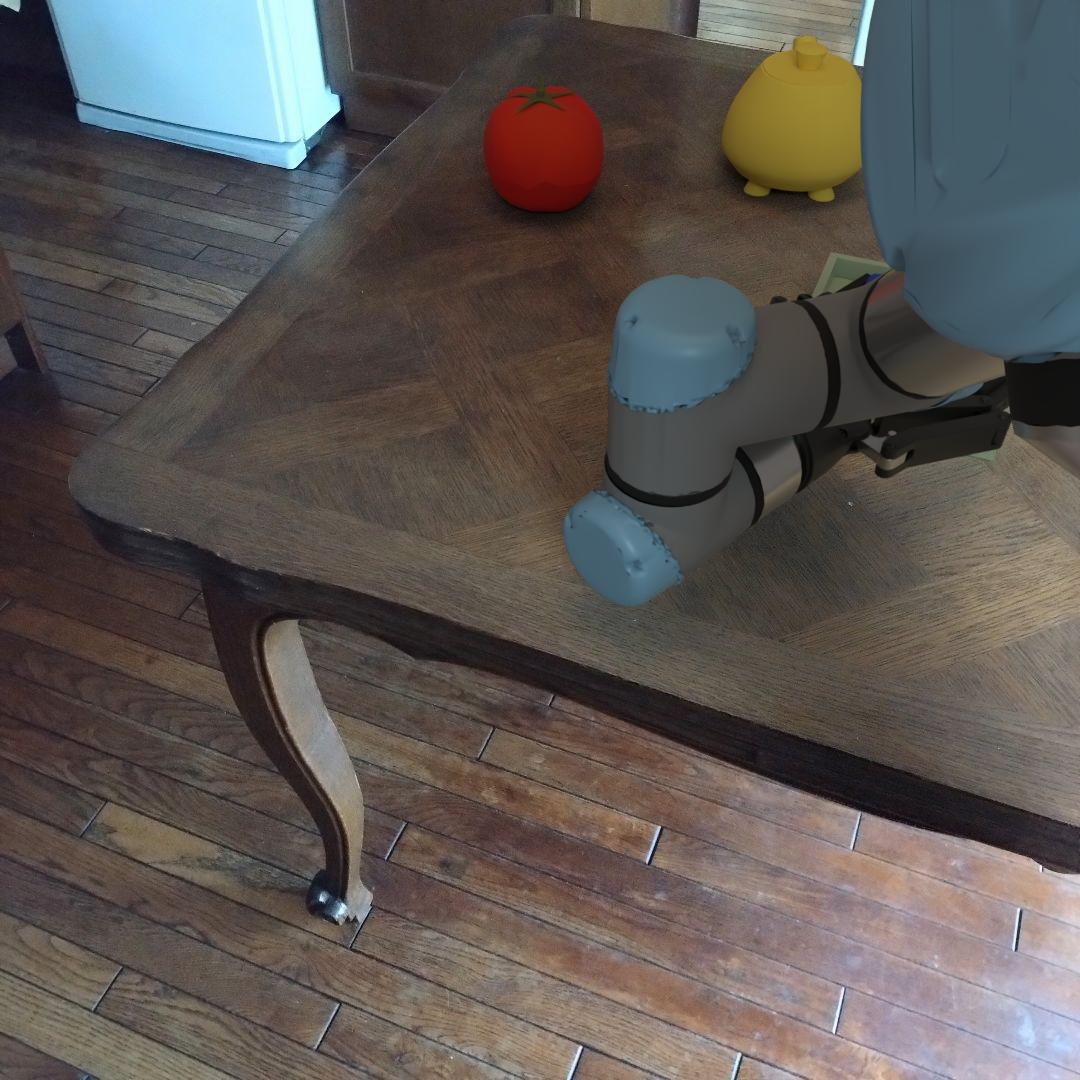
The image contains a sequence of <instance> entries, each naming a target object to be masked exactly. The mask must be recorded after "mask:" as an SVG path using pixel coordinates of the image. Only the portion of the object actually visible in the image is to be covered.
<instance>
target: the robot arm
mask: <svg viewBox="0 0 1080 1080" xmlns="http://www.w3.org/2000/svg"><path fill="white" fill-rule="evenodd" d="M863 57H864V58H863V66H862V77H861V82H862V88H861V110H860V142H861V161H862V168H861V172H862V180H863V187H864V194H865V198H866V203H867V204H866V205H867V209H868V214H869V219H870V223H871V228H872V231H873V235H874V237H875V240H876V243H877V246H878V248H879V250H880V253H881V256H882V258H883V262H884V263H887V264H888V265H889V267H890V268H892V269H891V270H889V271H888V272H886V273H884V274H882V275H881V276H879V277H877V278H875V279H874V280H872V281H870V282H869V283H867V284H866V281H867V279H868V278H869V277H870V276H871V275H870V274H868V273H866V274H864V275H863V276H861V277H859V278H858V279H856V280H854V281H853V282H851V283H850V284H848V285H846V286H845V287H843V288H841V289H840V290H838V291H837V292H835V293H831V292H824V293H822V294H820V295H819V296H817V297H814V298H813V297H812V294H809V293H800V294H798V295H797V297H796V300H788V299H787V298H786V297H785V296H782V295H775V296H772V298H771V300H770V302H769V304H765V305H759V306H753V304H752V302H751V301H750V299H749V298H748V297H747V295H745V294H744V293H743V292H742V291H741V290H739V289H738V288H737V287H735V286H734V285H732V284H730V283H728V282H726V281H724V280H721V279H719V278H715V277H712V276H708V275H707V276H706V275H703V276H701V277H698V278H693V277H689V276H686V275H685V274H682V273H676V274H669V275H663V276H660V277H656V278H653V279H651V280H650V279H649V280H648V281H646V282H644V283H642V284H640V285H638V286H637V287H636V288H635V289H633V290H632V291H631V292H629V294H627V296H626V297H625V299H624V300H623V301H622V302H621V304H620V306H619V308H618V311H617V313H616V316H615V321H614V328H613V331H612V336H611V345H610V346H611V347H610V355H609V360H608V363H607V374H606V381H607V387H608V388H607V425H606V429H607V430H606V449H605V450H606V451H605V453H604V457H603V470H602V481H601V484H600V485H599V486H598V487H596V488H593V489H590V490H588V491H587V492H586V493H584V494H583V497H582V498H580V499H579V500H578V501H577V502H575V503H574V504H573V505H572V506H571V507H570V508H569V509H568V511H567V513H566V515H565V516H564V519H563V523H562V537H563V543H564V546H565V551H566V553H567V556H568V557H569V560H570V561H571V564H572V565H573V567H574V569H575V570H576V572H577V573H578V575H579V576H580V577H581V579H582V580H583V581H584V582H585V584H586V585H588V587H589V588H590V589H591V590H594V591H595V592H596V593H597V594H598V595H600V597H601V598H602V599H604V600H606V601H607V602H610V603H611V604H614V605H617V606H620V607H626V608H633V607H639V606H642V605H644V604H646V603H647V602H649V601H651V600H652V599H654V598H656V597H657V596H658V595H660V594H661V593H663V592H664V591H666V590H667V589H669V588H670V587H672V586H678V585H680V584H681V583H683V581H684V579H685V578H687V577H688V576H689V575H690V574H692V573H693V572H694V571H696V570H697V569H699V568H700V567H701V566H703V565H704V564H705V563H706V562H707V561H709V560H710V559H712V557H714V556H715V555H717V554H718V553H720V552H721V551H722V550H723V549H725V548H726V547H728V546H729V545H730V544H731V543H733V542H734V541H735V540H736V539H738V538H740V537H741V536H742V535H743V534H744V533H745V532H746V531H747V530H749V529H750V528H751V527H753V526H754V525H756V524H758V523H759V522H760V521H762V520H763V519H764V518H766V517H768V515H770V514H771V513H773V512H774V511H775V510H777V509H778V508H779V507H781V506H782V505H783V504H785V503H786V502H787V501H789V500H791V499H792V498H793V497H794V495H796V494H799V493H800V492H802V491H803V490H804V489H806V488H807V487H809V486H810V485H811V484H813V483H815V482H816V481H817V480H818V479H820V478H821V477H822V476H824V475H825V474H826V473H828V472H829V471H830V470H831V469H832V468H833V467H834V466H836V465H837V463H838V462H839V461H840V460H841V459H842V458H844V457H846V456H848V455H849V456H850V455H856V454H859V453H861V454H862V455H864V456H865V457H866V458H868V459H869V460H871V461H873V462H874V463H875V468H874V474H875V476H876V477H878V478H881V479H890V478H892V477H894V476H895V475H897V474H899V473H901V472H902V471H904V470H906V469H907V468H912V467H918V466H921V465H926V464H932V463H937V462H942V461H947V460H952V459H957V458H960V457H961V458H962V457H966V456H969V455H972V454H976V453H981V452H986V451H991V450H996V449H997V450H999V449H1001V448H1002V446H1003V444H1004V441H1005V439H1006V436H1007V433H1008V432H1009V429H1010V426H1011V425H1012V431H1013V434H1014V435H1016V437H1018V438H1020V439H1021V440H1023V441H1024V442H1025V443H1026V444H1028V445H1030V446H1031V447H1033V448H1034V449H1035V450H1036V451H1038V452H1039V453H1041V454H1042V455H1044V456H1045V457H1047V458H1048V459H1049V460H1050V461H1052V462H1053V463H1055V464H1056V465H1057V466H1059V467H1061V468H1062V469H1064V470H1065V471H1066V472H1068V473H1069V474H1070V475H1072V476H1074V478H1076V479H1077V480H1079V481H1080V0H874V1H873V5H872V11H871V15H870V20H869V25H868V30H867V37H866V44H865V51H864V56H863ZM1006 408H1009V412H1008V411H1007V412H1005V411H1004V410H1005V409H1006ZM873 418H875V420H874V422H873V423H872V424H871V419H873Z"/></svg>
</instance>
